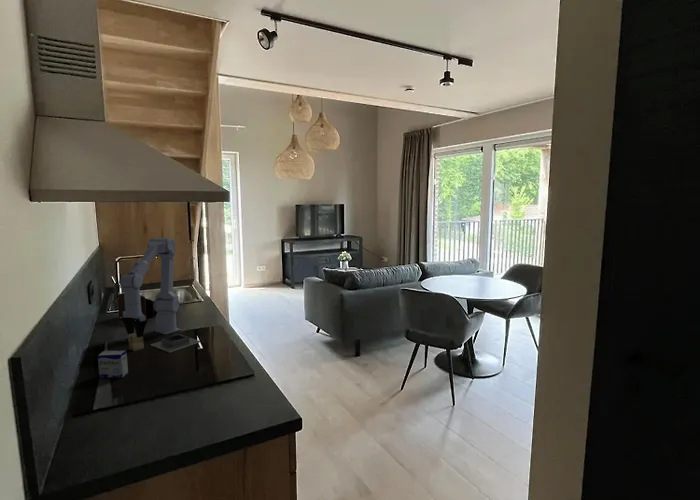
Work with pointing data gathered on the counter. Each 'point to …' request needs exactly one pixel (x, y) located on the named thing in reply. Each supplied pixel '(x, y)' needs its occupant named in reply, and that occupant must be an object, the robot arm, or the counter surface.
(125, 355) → the box
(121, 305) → the letter holder
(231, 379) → the counter surface
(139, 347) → the beige rectangular block
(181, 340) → the socket plate
